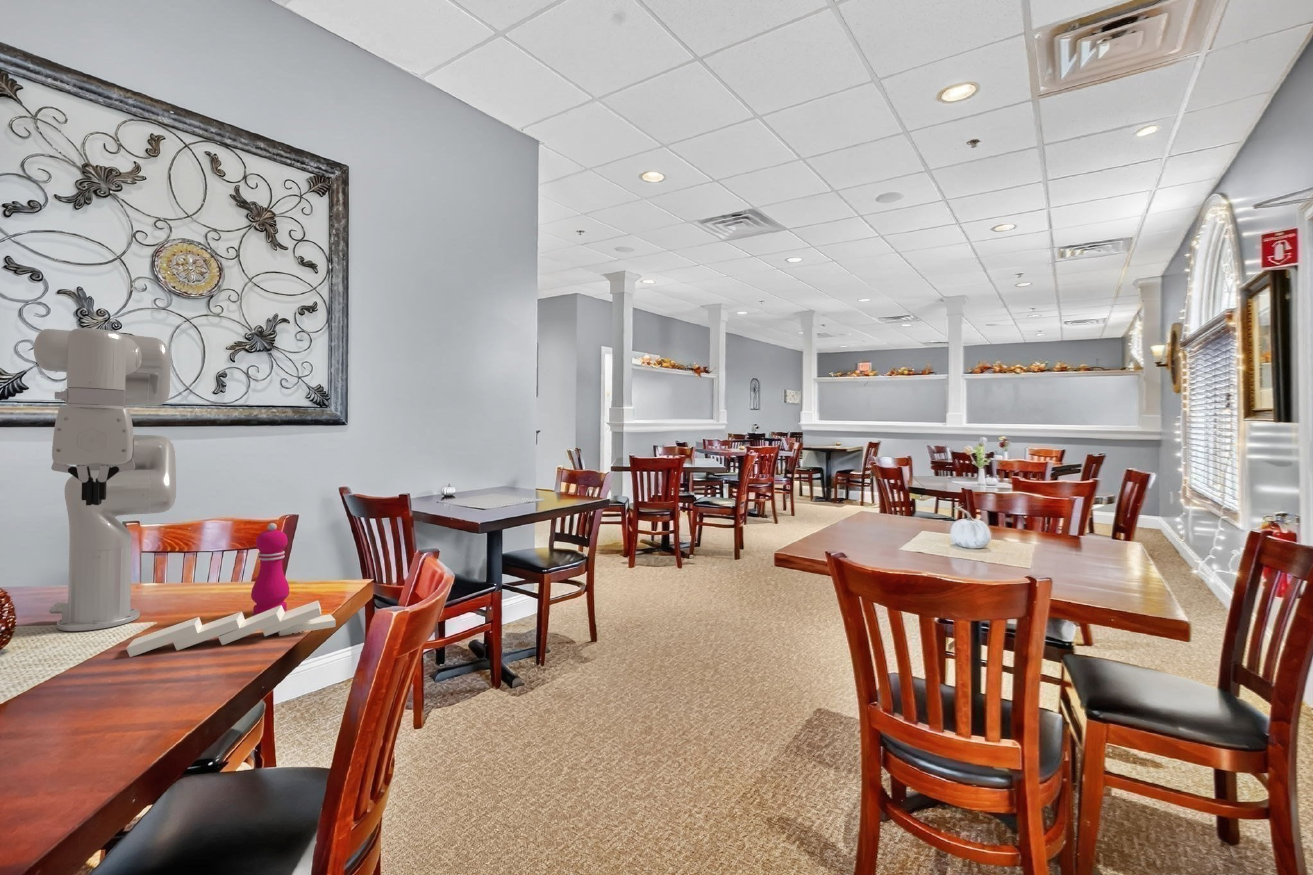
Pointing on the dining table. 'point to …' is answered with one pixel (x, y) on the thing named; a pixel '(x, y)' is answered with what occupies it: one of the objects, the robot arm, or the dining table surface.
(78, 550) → the robot arm
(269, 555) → the pepper mill
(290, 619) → the domino
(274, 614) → the domino
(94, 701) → the dining table surface
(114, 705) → the dining table surface
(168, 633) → the domino loose
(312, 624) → the domino
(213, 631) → the domino
